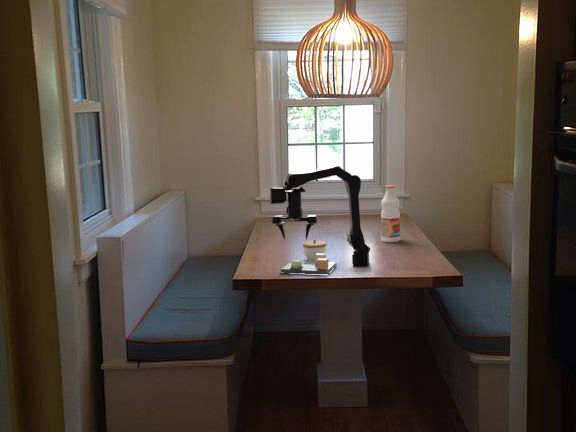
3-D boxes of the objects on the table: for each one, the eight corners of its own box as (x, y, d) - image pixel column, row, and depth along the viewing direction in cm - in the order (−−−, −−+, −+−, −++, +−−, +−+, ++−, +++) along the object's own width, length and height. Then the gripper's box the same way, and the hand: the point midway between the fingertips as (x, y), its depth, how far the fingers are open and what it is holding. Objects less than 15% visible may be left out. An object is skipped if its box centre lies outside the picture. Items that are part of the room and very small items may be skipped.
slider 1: (326, 262, 294) (325, 253, 293) (324, 264, 291) (324, 255, 290) (317, 262, 295) (316, 253, 295) (315, 263, 292) (314, 254, 292)
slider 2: (328, 267, 284) (328, 258, 284) (326, 269, 282) (326, 260, 281) (319, 267, 286) (318, 258, 285) (317, 269, 283) (316, 259, 282)
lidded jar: (312, 256, 317) (312, 236, 316) (331, 258, 310) (331, 238, 309) (298, 260, 309) (297, 240, 308) (317, 263, 302) (316, 242, 301)
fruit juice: (384, 238, 351) (383, 184, 347) (402, 239, 348) (401, 184, 343) (379, 242, 343) (378, 186, 338) (397, 242, 339) (397, 186, 335)
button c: (303, 266, 289) (302, 259, 288) (299, 269, 285) (299, 262, 284) (293, 266, 290) (292, 259, 290) (289, 268, 286) (289, 261, 286)
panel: (336, 266, 295) (336, 262, 295) (326, 275, 280) (326, 270, 280) (292, 264, 302) (292, 260, 301) (280, 273, 287) (280, 268, 286)
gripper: (318, 199, 294) (319, 235, 296) (275, 200, 296) (276, 235, 299) (315, 203, 283) (316, 240, 285) (271, 204, 285) (272, 240, 288)
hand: (295, 239), depth 290 cm, fingers open, 9 cm apart
